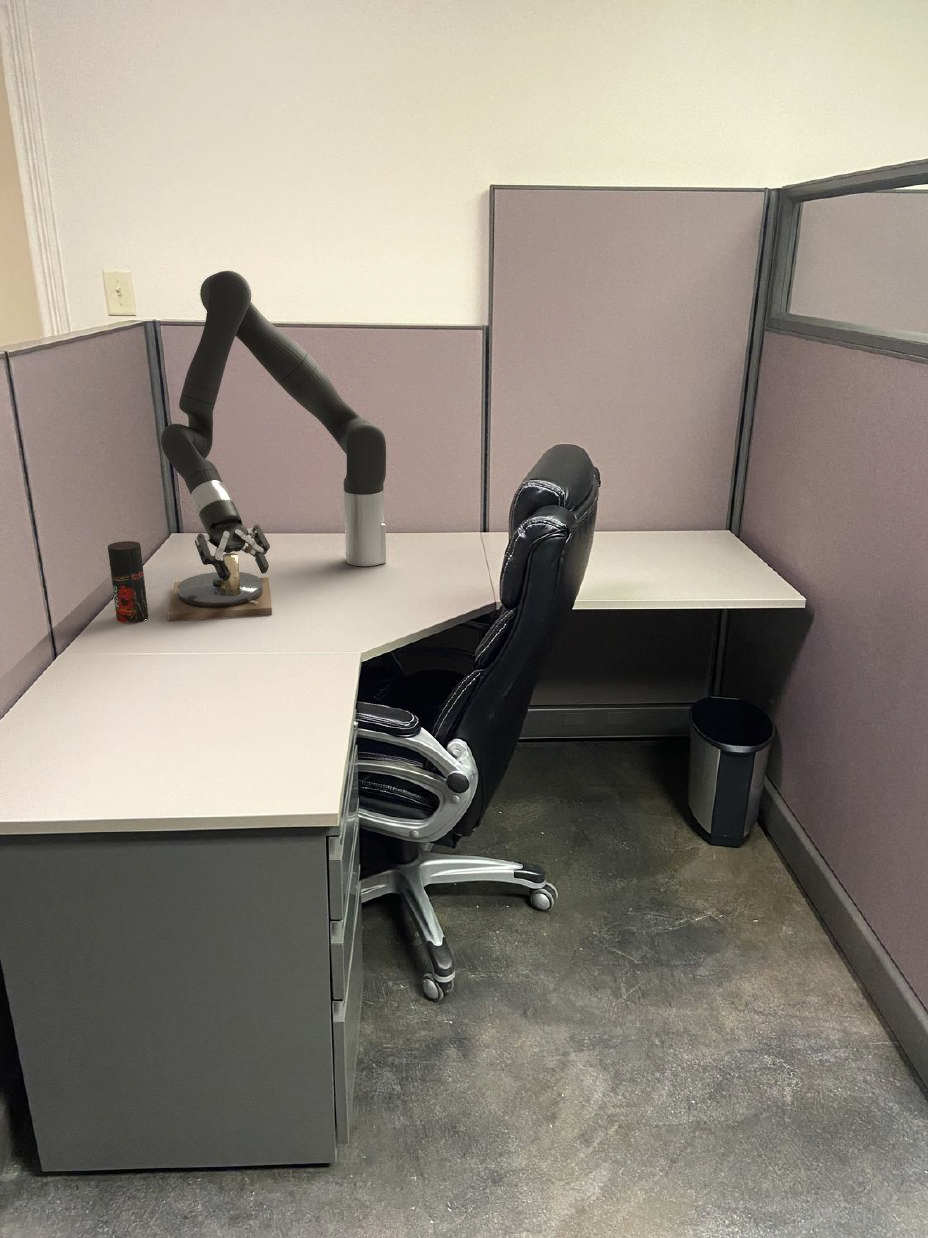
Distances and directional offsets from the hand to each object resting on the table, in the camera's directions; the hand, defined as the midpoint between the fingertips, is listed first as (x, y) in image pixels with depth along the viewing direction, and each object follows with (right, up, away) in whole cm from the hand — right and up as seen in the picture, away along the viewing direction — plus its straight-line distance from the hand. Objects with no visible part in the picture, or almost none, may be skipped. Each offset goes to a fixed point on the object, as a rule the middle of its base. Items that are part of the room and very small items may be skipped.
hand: (246, 575), depth 184 cm
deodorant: (-22, -9, -2) cm, 24 cm away
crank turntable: (-7, -3, +7) cm, 10 cm away
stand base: (-7, -5, +8) cm, 12 cm away
